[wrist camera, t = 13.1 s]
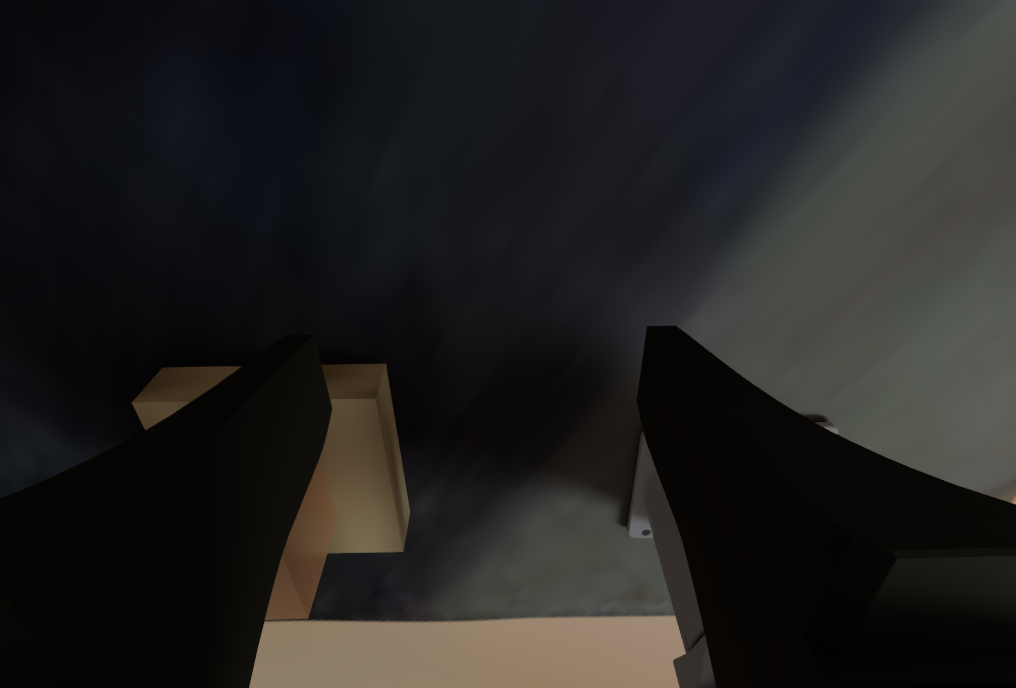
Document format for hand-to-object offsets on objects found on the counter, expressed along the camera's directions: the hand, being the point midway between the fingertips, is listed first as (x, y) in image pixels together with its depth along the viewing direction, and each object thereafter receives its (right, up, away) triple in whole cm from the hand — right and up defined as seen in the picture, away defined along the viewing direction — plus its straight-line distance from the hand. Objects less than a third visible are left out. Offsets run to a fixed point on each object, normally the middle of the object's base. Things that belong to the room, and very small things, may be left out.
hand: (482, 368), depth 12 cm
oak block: (-10, -4, +16) cm, 19 cm away
